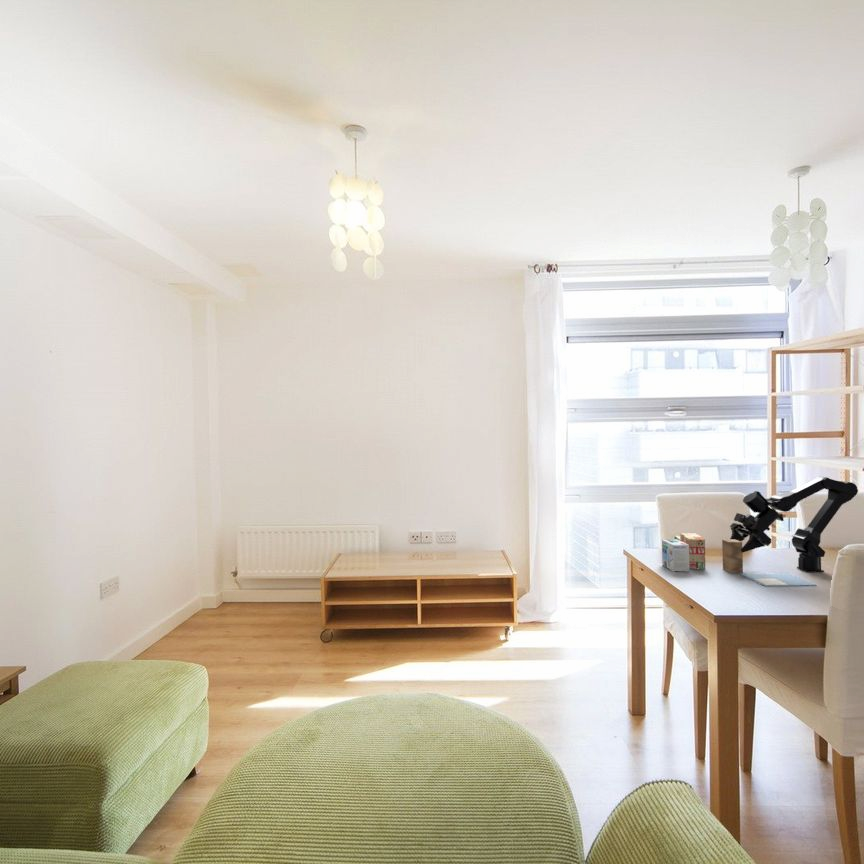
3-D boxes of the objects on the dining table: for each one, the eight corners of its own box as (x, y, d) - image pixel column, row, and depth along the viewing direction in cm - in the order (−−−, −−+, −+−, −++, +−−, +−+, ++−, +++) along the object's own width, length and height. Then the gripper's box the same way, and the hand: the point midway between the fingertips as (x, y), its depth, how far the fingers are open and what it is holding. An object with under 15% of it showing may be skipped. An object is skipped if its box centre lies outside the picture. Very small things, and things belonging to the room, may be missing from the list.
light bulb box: (661, 565, 210) (661, 539, 210) (678, 565, 210) (677, 539, 210) (673, 572, 200) (672, 544, 200) (690, 572, 199) (689, 544, 199)
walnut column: (735, 569, 202) (734, 539, 202) (742, 572, 197) (742, 542, 197) (722, 569, 202) (722, 539, 202) (729, 573, 197) (729, 542, 197)
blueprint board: (787, 574, 194) (787, 572, 194) (816, 585, 179) (816, 584, 179) (740, 574, 194) (740, 573, 194) (764, 586, 179) (764, 584, 179)
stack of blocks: (674, 556, 225) (674, 528, 225) (690, 556, 224) (689, 528, 224) (689, 569, 204) (688, 538, 204) (705, 569, 203) (705, 538, 203)
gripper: (734, 503, 209) (707, 530, 209) (762, 509, 190) (733, 539, 190) (754, 522, 208) (727, 549, 209) (784, 530, 190) (755, 560, 190)
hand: (734, 548), depth 199 cm, fingers open, 9 cm apart
